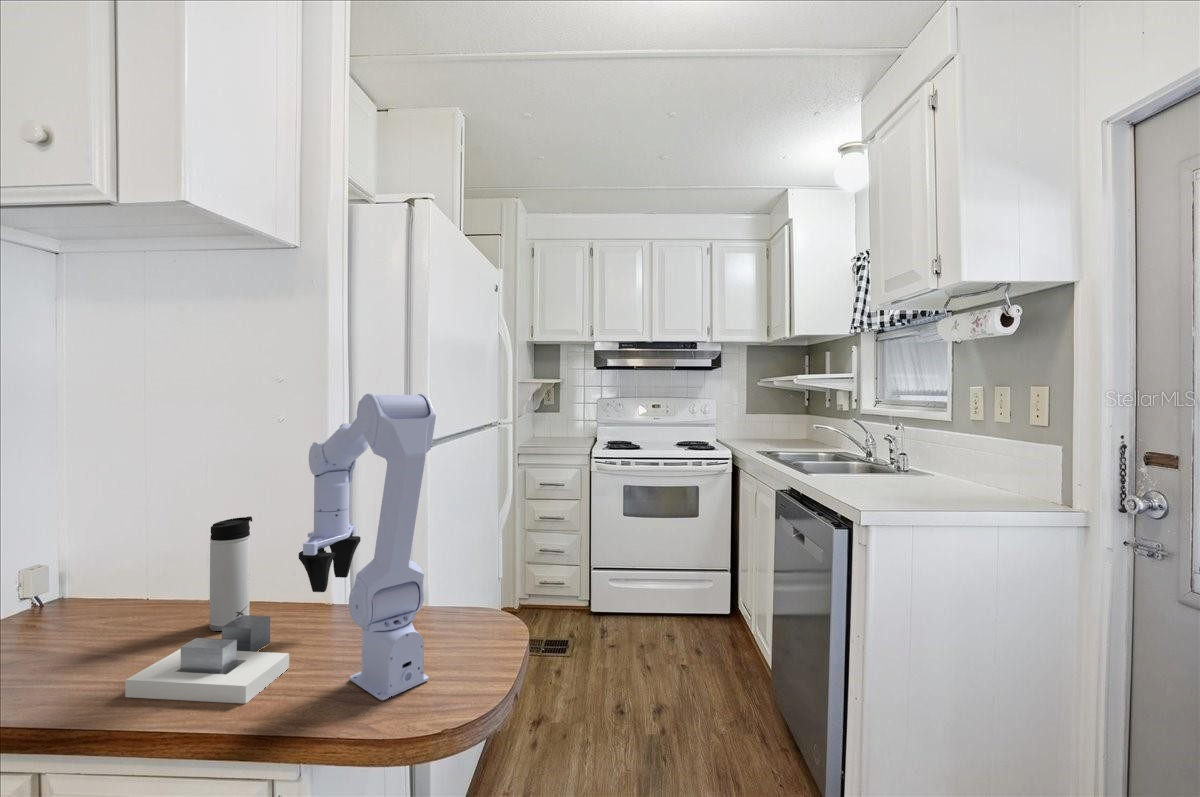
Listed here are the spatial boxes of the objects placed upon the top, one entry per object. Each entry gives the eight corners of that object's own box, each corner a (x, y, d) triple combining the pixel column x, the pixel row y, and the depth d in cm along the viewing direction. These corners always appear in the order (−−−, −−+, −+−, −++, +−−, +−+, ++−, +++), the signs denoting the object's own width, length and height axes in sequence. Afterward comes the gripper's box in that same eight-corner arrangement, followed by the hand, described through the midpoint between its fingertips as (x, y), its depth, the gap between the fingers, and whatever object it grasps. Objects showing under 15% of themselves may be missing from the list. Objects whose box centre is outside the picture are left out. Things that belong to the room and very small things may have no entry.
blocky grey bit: (236, 678, 87) (236, 639, 87) (222, 688, 84) (222, 648, 84) (195, 676, 87) (196, 637, 87) (180, 686, 84) (180, 646, 84)
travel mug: (250, 627, 105) (251, 520, 105) (207, 635, 102) (208, 524, 101) (252, 616, 110) (253, 513, 110) (211, 622, 107) (212, 517, 107)
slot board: (289, 669, 90) (289, 653, 90) (245, 703, 80) (245, 686, 80) (181, 663, 91) (181, 648, 91) (125, 697, 81) (125, 679, 81)
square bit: (270, 644, 98) (270, 616, 98) (250, 658, 93) (250, 628, 93) (242, 643, 99) (242, 615, 99) (221, 657, 94) (221, 627, 94)
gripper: (331, 500, 109) (330, 570, 109) (285, 517, 95) (284, 597, 95) (366, 501, 109) (365, 571, 109) (326, 518, 94) (325, 599, 95)
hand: (330, 583), depth 102 cm, fingers open, 7 cm apart
